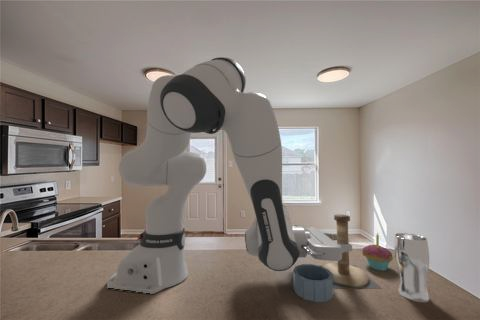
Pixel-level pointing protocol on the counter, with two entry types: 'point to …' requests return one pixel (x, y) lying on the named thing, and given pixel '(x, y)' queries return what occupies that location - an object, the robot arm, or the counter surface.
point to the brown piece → (345, 260)
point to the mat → (369, 286)
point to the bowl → (313, 283)
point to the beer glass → (412, 265)
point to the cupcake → (377, 255)
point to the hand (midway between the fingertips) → (343, 241)
